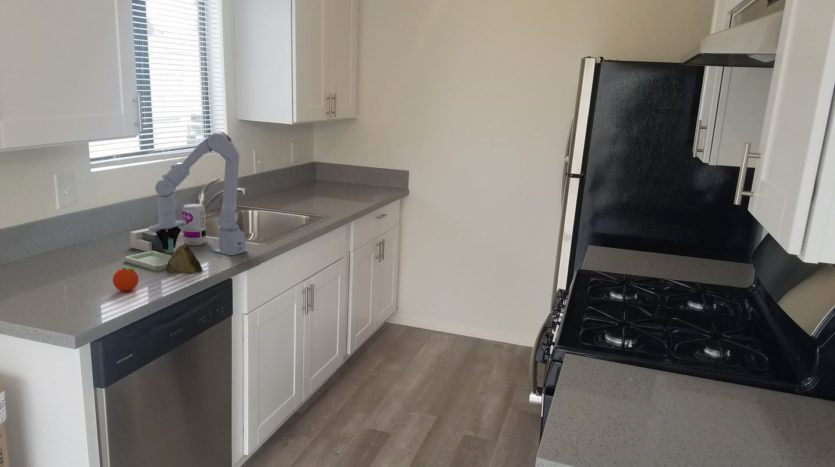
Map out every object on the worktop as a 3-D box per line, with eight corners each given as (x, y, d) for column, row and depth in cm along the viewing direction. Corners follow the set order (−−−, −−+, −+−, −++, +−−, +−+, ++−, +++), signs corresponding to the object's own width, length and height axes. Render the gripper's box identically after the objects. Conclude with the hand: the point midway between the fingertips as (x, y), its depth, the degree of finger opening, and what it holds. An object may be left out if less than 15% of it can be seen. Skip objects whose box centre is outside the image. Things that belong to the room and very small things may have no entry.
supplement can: (191, 247, 229) (190, 208, 226) (179, 243, 234) (177, 205, 231) (210, 243, 236) (209, 205, 232) (198, 239, 240) (196, 202, 237)
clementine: (142, 285, 185) (140, 263, 184) (144, 292, 179) (142, 269, 178) (113, 288, 182) (111, 266, 180) (114, 295, 176) (112, 272, 174)
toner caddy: (176, 250, 223) (176, 235, 222) (165, 253, 219) (164, 237, 218) (155, 245, 229) (154, 230, 228) (143, 248, 225) (142, 232, 224)
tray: (184, 264, 208) (184, 259, 208) (157, 271, 199) (156, 266, 198) (152, 255, 217) (152, 250, 216) (124, 262, 207) (123, 257, 207)
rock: (155, 266, 197) (175, 267, 192) (166, 242, 200) (185, 243, 195) (180, 279, 205) (200, 281, 200) (190, 256, 208) (210, 257, 203)
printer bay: (171, 247, 228) (170, 231, 227) (149, 252, 220) (148, 236, 219) (153, 242, 233) (152, 227, 232) (131, 247, 225) (130, 231, 224)
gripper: (176, 207, 226) (178, 242, 229) (142, 213, 214) (144, 250, 217) (189, 210, 223) (191, 245, 226) (154, 216, 211) (157, 253, 214)
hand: (169, 248), depth 221 cm, fingers closed on toner caddy, 2 cm apart
